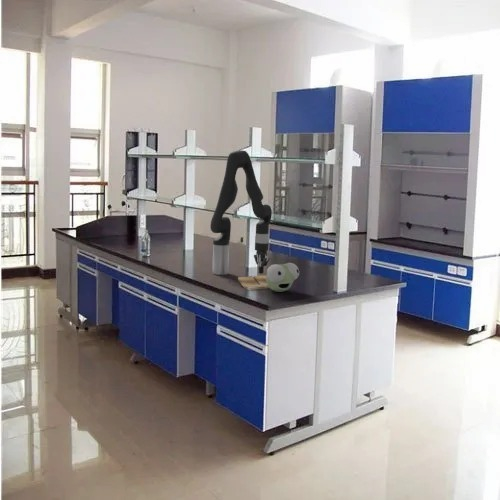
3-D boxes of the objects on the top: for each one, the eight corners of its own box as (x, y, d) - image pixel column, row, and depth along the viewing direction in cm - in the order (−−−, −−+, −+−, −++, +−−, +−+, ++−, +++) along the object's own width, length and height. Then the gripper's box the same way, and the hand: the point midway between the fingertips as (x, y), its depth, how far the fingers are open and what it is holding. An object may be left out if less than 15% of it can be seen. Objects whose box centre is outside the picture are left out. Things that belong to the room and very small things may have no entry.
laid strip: (244, 288, 312) (244, 285, 312) (273, 285, 321) (273, 283, 321) (249, 290, 308) (249, 288, 307) (278, 287, 317) (279, 285, 317)
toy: (274, 296, 295) (275, 266, 293) (256, 290, 307) (257, 262, 305) (302, 292, 306) (303, 263, 304) (284, 287, 318) (285, 259, 315)
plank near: (237, 279, 318) (238, 277, 317) (251, 277, 322) (251, 276, 322) (244, 288, 312) (245, 286, 312) (258, 286, 317) (258, 284, 316)
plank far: (253, 277, 323) (253, 276, 322) (266, 276, 327) (266, 274, 327) (259, 286, 317) (260, 284, 317) (273, 285, 321) (273, 283, 321)
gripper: (249, 240, 324) (248, 271, 327) (262, 243, 313) (261, 276, 316) (261, 239, 328) (260, 270, 331) (274, 243, 317) (273, 275, 320)
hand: (261, 273), depth 323 cm, fingers closed
